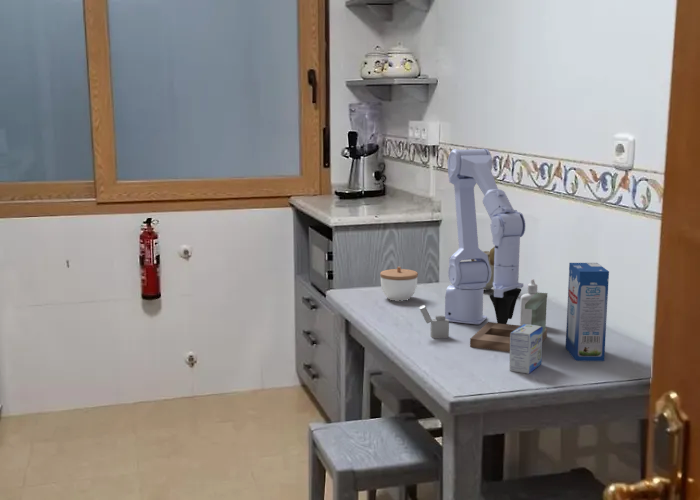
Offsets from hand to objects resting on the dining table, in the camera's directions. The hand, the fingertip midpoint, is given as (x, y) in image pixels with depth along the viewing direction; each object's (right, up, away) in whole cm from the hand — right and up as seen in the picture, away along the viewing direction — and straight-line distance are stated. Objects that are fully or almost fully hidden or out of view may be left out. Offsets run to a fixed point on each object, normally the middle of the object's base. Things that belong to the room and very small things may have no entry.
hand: (504, 320), depth 196 cm
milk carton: (+16, -7, -9) cm, 20 cm away
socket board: (+1, -5, 0) cm, 5 cm away
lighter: (-16, -5, +4) cm, 17 cm away
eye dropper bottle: (+9, -3, +14) cm, 17 cm away
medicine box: (+1, -9, -19) cm, 21 cm away
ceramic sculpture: (+4, +4, +54) cm, 54 cm away
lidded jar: (-23, +2, +43) cm, 49 cm away
